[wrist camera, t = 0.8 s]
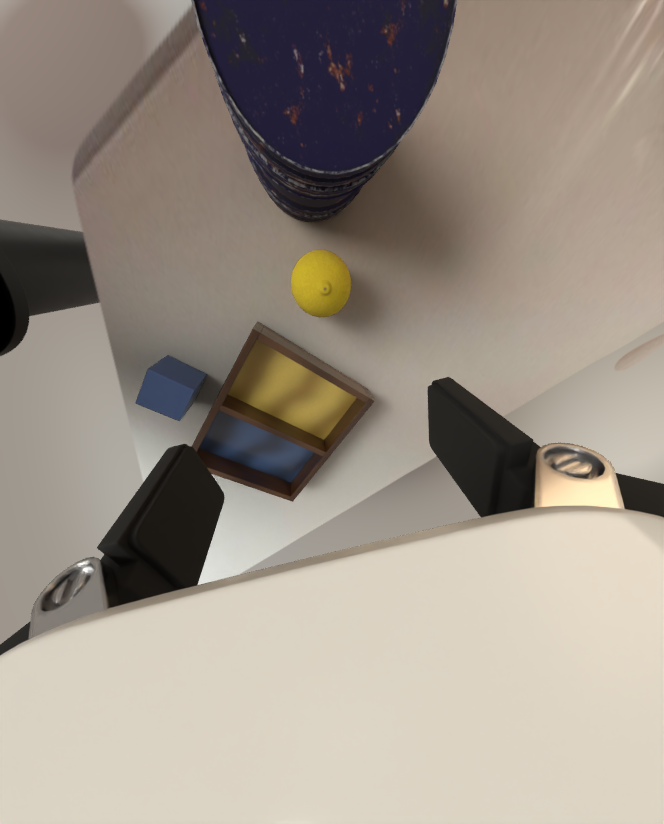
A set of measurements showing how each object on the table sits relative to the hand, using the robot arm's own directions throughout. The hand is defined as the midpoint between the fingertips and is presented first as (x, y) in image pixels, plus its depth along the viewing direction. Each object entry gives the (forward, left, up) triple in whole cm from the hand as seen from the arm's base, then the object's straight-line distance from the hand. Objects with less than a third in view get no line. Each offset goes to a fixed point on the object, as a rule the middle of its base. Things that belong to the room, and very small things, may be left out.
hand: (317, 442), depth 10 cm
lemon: (-1, +5, -22) cm, 23 cm away
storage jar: (-7, +13, -22) cm, 27 cm away
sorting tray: (+3, -12, -22) cm, 26 cm away
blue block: (-9, -13, -22) cm, 27 cm away
